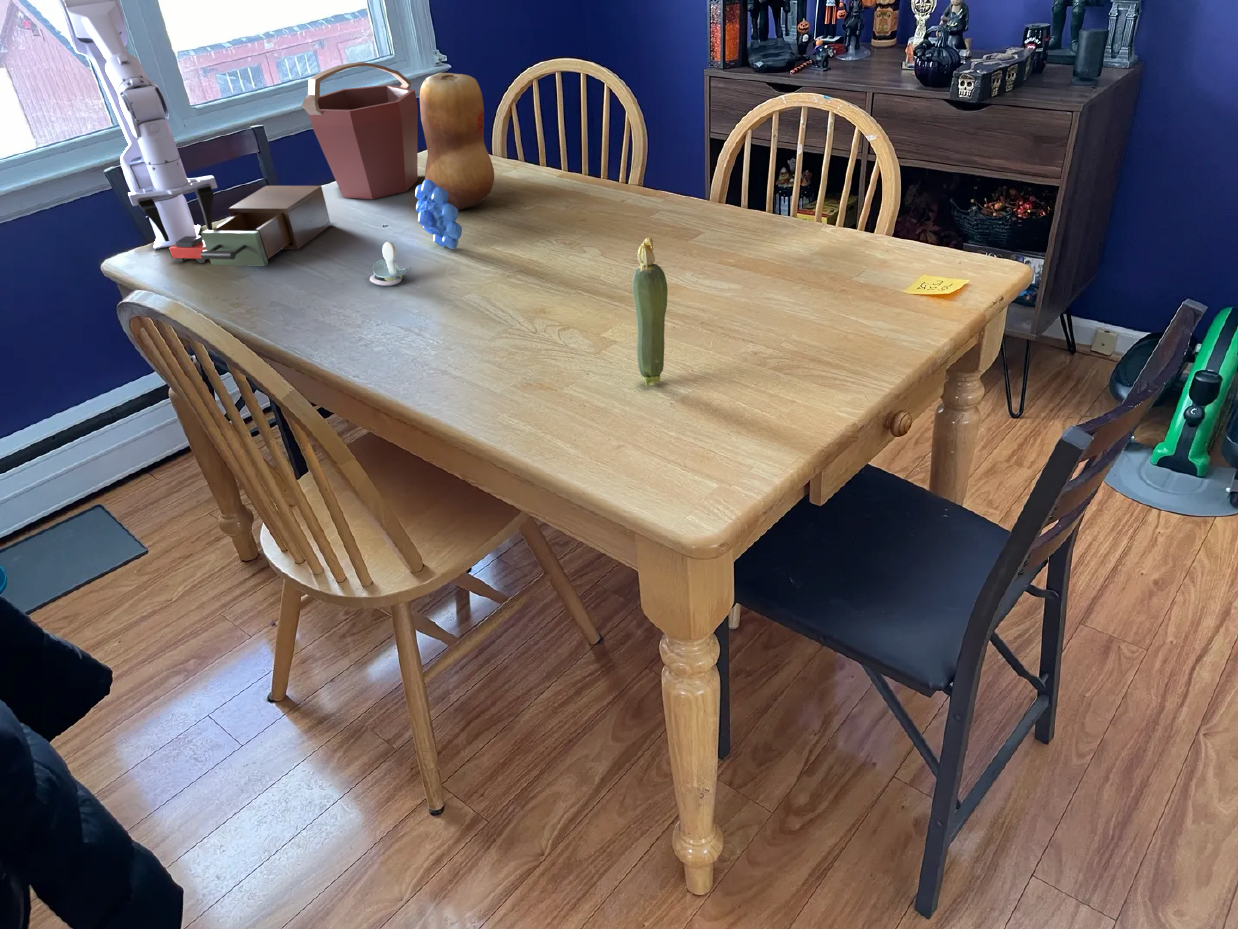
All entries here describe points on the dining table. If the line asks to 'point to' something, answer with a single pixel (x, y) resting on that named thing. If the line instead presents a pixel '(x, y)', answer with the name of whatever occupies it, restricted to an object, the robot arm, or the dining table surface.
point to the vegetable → (649, 313)
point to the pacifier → (390, 273)
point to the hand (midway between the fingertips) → (188, 234)
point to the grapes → (437, 214)
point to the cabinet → (290, 210)
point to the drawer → (246, 239)
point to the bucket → (367, 134)
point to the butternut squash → (456, 138)
